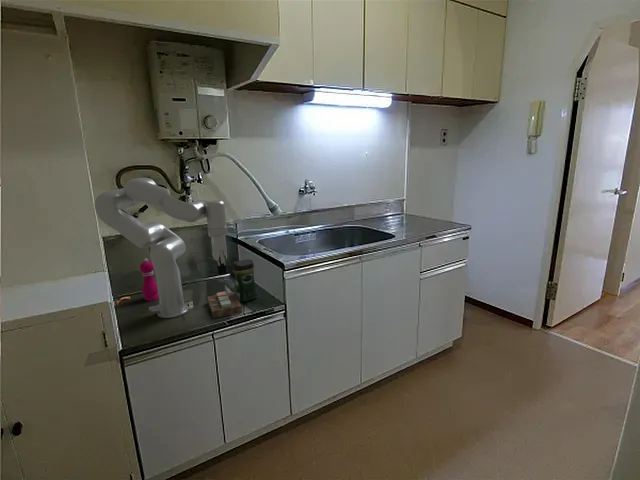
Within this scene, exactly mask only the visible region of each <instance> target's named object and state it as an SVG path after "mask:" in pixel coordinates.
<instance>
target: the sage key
mask: <svg viewBox="0 0 640 480" xmlns="http://www.w3.org/2000/svg"><path fill="white" fill-rule="evenodd" d="M220 305H221V309H222V308H227V307H231V302H230V300H226V301H220Z"/></svg>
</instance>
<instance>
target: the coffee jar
mask: <svg viewBox="0 0 640 480" xmlns="http://www.w3.org/2000/svg"><path fill="white" fill-rule="evenodd" d="M254 272H255V265H254V261H253V259H251V258H246V259H242V260H237V261H233V262H232V273H234V280H235V286H234V287H235V291H234V293H235V295H236V296H237V298H238V300H239V302H240V303H241V302H242V303H243V302H248V301H251V300H252V301H253V300H255V299H257V297H258V291H257V288H256V287H257V286H256V282H255V276H254V274H255V273H254Z"/></svg>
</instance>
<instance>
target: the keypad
mask: <svg viewBox="0 0 640 480" xmlns="http://www.w3.org/2000/svg"><path fill="white" fill-rule="evenodd" d="M226 294H227V296H228V298H229V300H230V302H231V307H227V308H222V309H221V305H220V304H219V299H217V294H214V295H209V296H207V303H208V307H209V310H210V312H211V315H212V319H216V318H221V317H226V316H232V315H236V314H241V313H243V306H242V304H241V301H239V300H238V298H237V296H236V294H235V291H231V292H226Z"/></svg>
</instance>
